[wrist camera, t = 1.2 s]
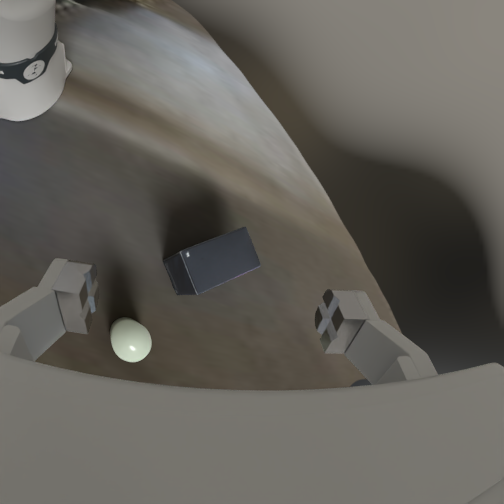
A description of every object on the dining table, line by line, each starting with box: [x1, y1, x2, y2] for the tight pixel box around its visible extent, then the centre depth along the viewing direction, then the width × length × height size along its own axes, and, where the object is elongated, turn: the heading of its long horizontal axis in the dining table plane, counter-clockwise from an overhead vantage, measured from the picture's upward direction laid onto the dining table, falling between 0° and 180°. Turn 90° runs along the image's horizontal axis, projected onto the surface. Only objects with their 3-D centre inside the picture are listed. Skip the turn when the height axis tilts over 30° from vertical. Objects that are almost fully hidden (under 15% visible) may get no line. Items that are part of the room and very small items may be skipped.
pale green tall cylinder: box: [110, 317, 151, 362], centre depth 39 cm, size 5×5×10 cm
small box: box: [163, 227, 261, 295], centre depth 46 cm, size 11×6×10 cm, turn 115°
